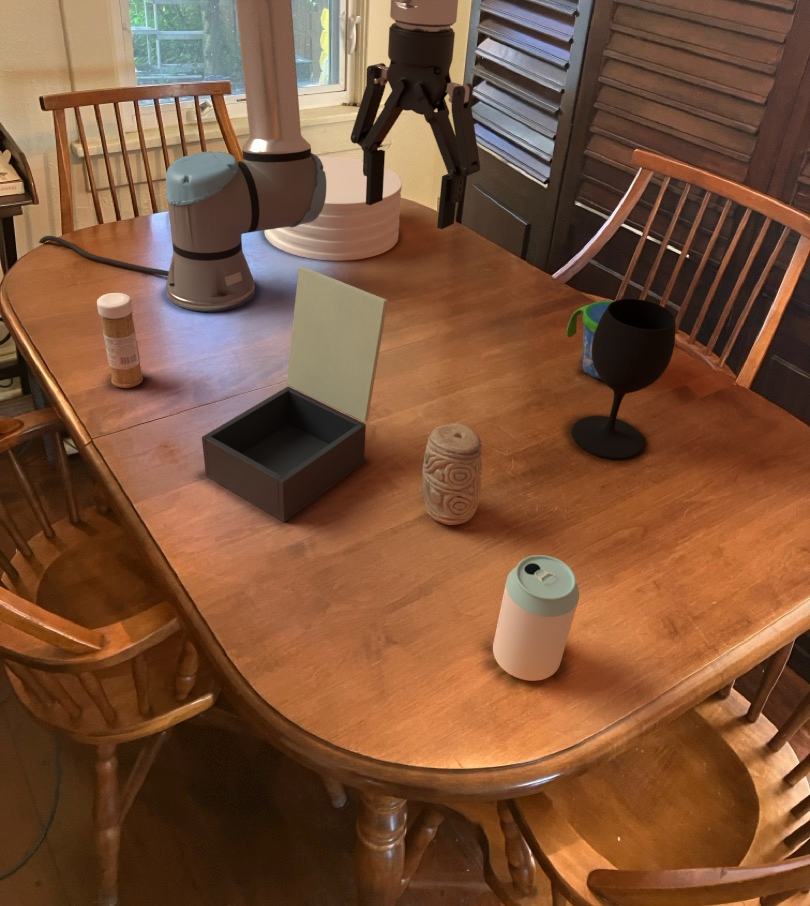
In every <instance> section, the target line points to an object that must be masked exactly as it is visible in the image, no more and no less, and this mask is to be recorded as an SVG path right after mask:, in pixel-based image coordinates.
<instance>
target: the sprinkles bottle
mask: <svg viewBox="0 0 810 906" xmlns="http://www.w3.org/2000/svg"><path fill="white" fill-rule="evenodd" d="M96 306H97V312H98V314H99V317H100V321H101V326H102V334H103V340H104V345H105V352H106V357H107V361H108V362H107V363H108V366H109V370H110V375H111V380H110V381H111V384H112V385H113V386H115V387H117V388H121V389H131V388H134V387H136V386H138V385H140V384H141V383H142V382H143V380H144V376H143V373H142V367H141V360H140V359H141V357H140V352H139V346H138V345H139V344H138V340H137V334H136V328H135V323H134V319H133V313H134V311H133V310H134V308H133V302H132V299H131V297H130V295H128V294H125V293H122V292H110V293H105V294H103V295H100V296H99V298H97V300H96Z"/></svg>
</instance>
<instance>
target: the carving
mask: <svg viewBox="0 0 810 906" xmlns="http://www.w3.org/2000/svg"><path fill="white" fill-rule="evenodd" d="M482 450H483V445H482V441H481V439H480V436H479V435H478V433H477V432H476V431H475V430H474V429H473V428H472V427H470V426H467V425H465V424H462V423H456V422H454V423H453V422H452V423H448V424H442V425H438V426H436V427H435V428H433V429H432V430H431V431H430V434H429V436H428V438H427V443H426V446H425V451H424V456H423V464H422V480H421V483H422V485H421V488H422V490H421V491H422V495H423V501H424V506H425V511H426V513H427V514H428V515H429V517H431V518H432V519H433V520H435V521H436V522H439V523H441V524H444V525H450V526H454V525H460V524H465V523H467V522H468V521H470V520H471V519H472V518H473V517H474V515H475V514H476V512H477V509H478V507H479V503H480V497H481V494H482V477H481V476H482V471H483V465H482V464H483V463H482Z"/></svg>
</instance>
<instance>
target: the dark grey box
mask: <svg viewBox="0 0 810 906" xmlns="http://www.w3.org/2000/svg"><path fill="white" fill-rule="evenodd" d="M366 430H367V424H366V423H365V422H363V421H361V420H359V419H357V418H355V417H353V416H351V415H349V414H347V413H345V412H343V411H341V410H338V409H336V408H334V407H332V406H330V405H328V404H326V403H324V402H322V401H320V400H318V399H316V398H314V397H312V396H310V395H308V394H306V393H304V392H302V391H300V390H298V389H296V388H293V387H291V386H289V385H287V386H285V387H284V388H283V389H281V390H279V391H277V392H275V393H274V394H272V395H271V396H269V397H267V398H266V399H265V398H264V400H262V401H260V402H259V403H257V404H255V405H254V406H252V407H250V408H249V409H246V410H245V411H243V412H241V413H239V414H238V415H237V416H234V417H233V418H231V419H230V420H228V421H226V422H225V423H223V424H221V425H220V426H218V427H216V428H214V429H212V430H211V431H209V432H207V433H206V434H204V435H202V436H201V442H202V443H201V445H202V451H203V452H202V453H203V461H204V471H205V477H206V478H208V479H210V480H211V481H213V482H215V483H217V484H218V485H220V486H222V487H223V488H225V489H226V490H228V491H230V492H232V493H233V494H235V495H237V496H238V497H240V498H241V499H244V500H246V501H247V502H249V503H251V504H252V505H254V506H256V507H257V508H259V509H260V510H262V511H264V512H265V513H267V514H269V515H271V516H272V517H274V518H276V519H278V520H279V521H281V522H283V523H286V522H287V521H289V520H291V518H292V517H294V516H295V515H296V514H298V513H299V512H300V511H302V510H303V509H304V508H305V507H307V506H309V505H311V503H313V502H314V501H315V500H316V499H318V498H319V497H321V496H322V495H323V494H324V493H326V492H327V491H329V490H330V489H332V488H333V487H334V486H335V485H337V483H338V484H339V482H340V481H342V480H343V479H344V478H346V477H347V476H348V475H350V474H351V473H353V472H354V471H355V470H356V469H358V468H360V466H362V465H363V464H364V463H365V453H366V451H365V450H366Z"/></svg>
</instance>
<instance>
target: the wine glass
mask: <svg viewBox="0 0 810 906" xmlns="http://www.w3.org/2000/svg"><path fill="white" fill-rule="evenodd" d="M613 301H614V302H612V303H610V304H609V306H608V307H607V309H606V310H605V312H604V314H603V315H602V317H601V319H600V321H599V323H598V326H597V328H596V331H595V334H594V337H593V342H592V360H593V364H594V367H595V369H596V371H597V373H598V375H599V377H600V378H601V379H602V380H603V381H602V380H601V381H602V382H603V383H604V384H605V385H606V386H607V387H609V388H610V389H611V390H612V391H613V400H612V405H611V409H610V413H609V416H606V415H590V416H585V417H582V418H580V419H578V420H577V421H576V422H574V424H573V425H572V427H571V437H572V439H573V441H574V442H575V444H576V445H577V446H578V447H579V448H580V449H582V450H583V451H585V452H586V453H589V454H591V455H592V456H595V457H597V458H600V459H606V460H613V461H621V460H628V459H632V458H634V457H636V456H638V455H639V454H640V453H642V450H643V449H644V444H645V443H644V442H645V441H644V438H643V436H642V434H641V433H640V432H639V431H638V429H636V428H635V427H634V426H633V425H632V424H630V423H628V422H626V421H624V420H622V419H618V418H617V416H618V414H619V410H620V406H621V404H622V402H623V399H624V397H625V396H626V394H631V393H635V392H639V391H642V390H643V389H645V388H647V387H650V386H651V385H653V384H654V383H655V382H657V381H658V380H659V379H660V378H661V376H662V375H663V374H664V373H665V371H666V370H667V369H668V366H669V365H670V362H671V360H672V356H673V354H674V349H675V343H676V334H677V333H676V331H677V330H676V329H677V328H676V326H677V325H676V318H675V315H674V314H673V313H672V311H670V310H669V309H667V308H666V307H665V306H662V305H660V304H658V303H655V302H653V301H649V300H644V299H639V298H621V299H617V300H616V299H615V300H613Z"/></svg>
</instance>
